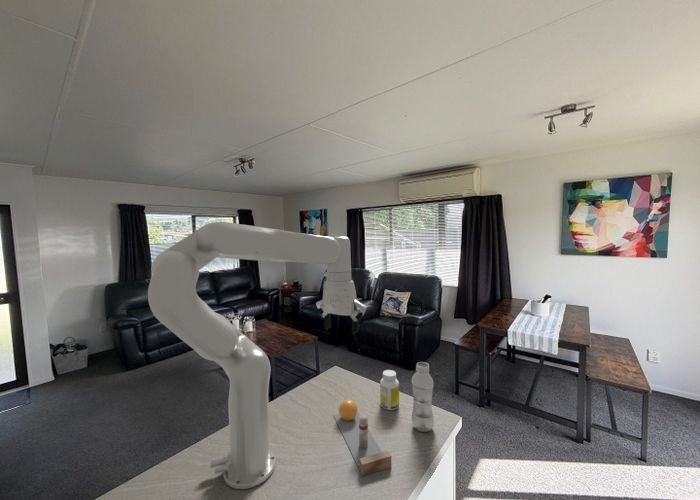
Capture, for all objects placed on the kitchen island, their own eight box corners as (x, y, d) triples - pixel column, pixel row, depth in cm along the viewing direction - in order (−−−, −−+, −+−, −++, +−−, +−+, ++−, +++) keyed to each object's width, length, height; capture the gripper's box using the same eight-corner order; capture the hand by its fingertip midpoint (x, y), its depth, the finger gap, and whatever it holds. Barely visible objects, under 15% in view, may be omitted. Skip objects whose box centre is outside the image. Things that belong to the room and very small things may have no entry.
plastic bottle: (434, 436, 84) (435, 370, 83) (411, 433, 85) (411, 368, 84) (432, 422, 90) (433, 360, 89) (411, 420, 92) (411, 359, 91)
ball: (342, 426, 89) (342, 408, 88) (336, 415, 94) (336, 397, 94) (360, 422, 91) (360, 404, 90) (353, 411, 96) (353, 394, 96)
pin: (361, 451, 79) (360, 421, 78) (357, 444, 81) (357, 415, 80) (369, 448, 79) (369, 419, 79) (365, 442, 82) (365, 413, 81)
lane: (357, 466, 73) (357, 466, 73) (333, 416, 94) (333, 415, 94) (386, 458, 76) (386, 457, 76) (356, 410, 97) (356, 410, 97)
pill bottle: (401, 403, 101) (402, 371, 100) (394, 413, 95) (394, 379, 95) (385, 398, 104) (385, 367, 103) (377, 407, 99) (377, 374, 98)
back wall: (362, 476, 70) (362, 464, 70) (359, 470, 72) (359, 458, 72) (391, 467, 73) (391, 455, 73) (387, 461, 75) (387, 450, 75)
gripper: (308, 277, 88) (311, 331, 90) (359, 280, 81) (361, 338, 82) (321, 273, 95) (323, 323, 96) (369, 275, 87) (371, 330, 89)
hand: (341, 330), depth 89 cm, fingers open, 9 cm apart
